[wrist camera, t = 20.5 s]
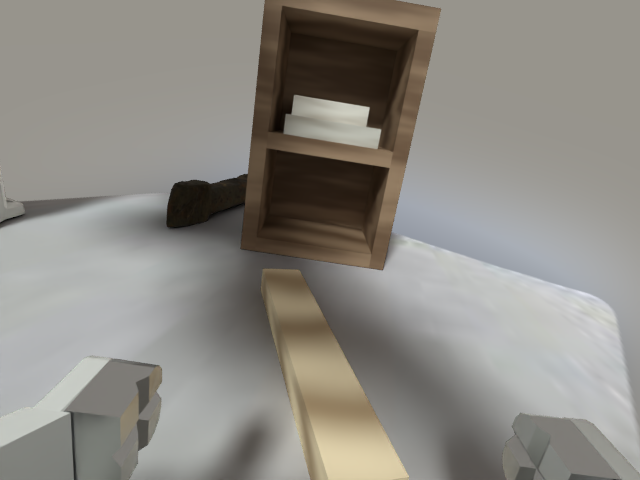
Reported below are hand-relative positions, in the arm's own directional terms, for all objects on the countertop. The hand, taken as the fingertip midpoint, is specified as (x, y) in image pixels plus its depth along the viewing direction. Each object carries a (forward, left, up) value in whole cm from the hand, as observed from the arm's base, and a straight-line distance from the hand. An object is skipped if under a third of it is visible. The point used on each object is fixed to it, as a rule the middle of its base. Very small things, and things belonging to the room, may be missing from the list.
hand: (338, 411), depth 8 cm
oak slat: (-8, +11, -9) cm, 16 cm away
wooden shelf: (-22, +31, -8) cm, 39 cm away
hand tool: (-37, +29, -9) cm, 48 cm away
